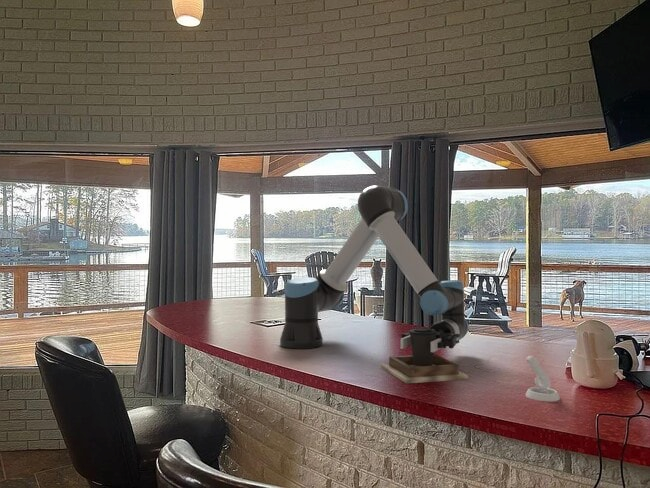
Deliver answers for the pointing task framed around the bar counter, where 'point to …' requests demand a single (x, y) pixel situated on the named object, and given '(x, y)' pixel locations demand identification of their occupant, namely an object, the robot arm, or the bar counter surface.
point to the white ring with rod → (541, 384)
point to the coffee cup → (422, 346)
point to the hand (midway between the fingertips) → (416, 345)
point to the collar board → (423, 370)
